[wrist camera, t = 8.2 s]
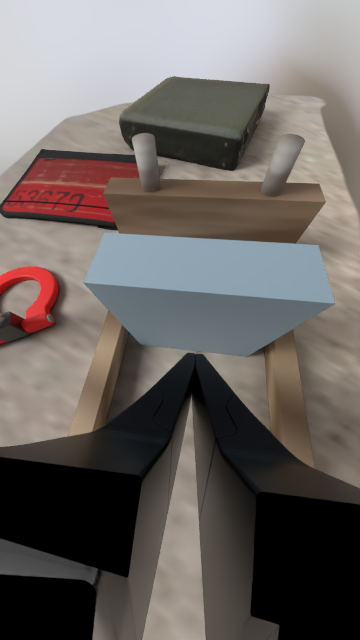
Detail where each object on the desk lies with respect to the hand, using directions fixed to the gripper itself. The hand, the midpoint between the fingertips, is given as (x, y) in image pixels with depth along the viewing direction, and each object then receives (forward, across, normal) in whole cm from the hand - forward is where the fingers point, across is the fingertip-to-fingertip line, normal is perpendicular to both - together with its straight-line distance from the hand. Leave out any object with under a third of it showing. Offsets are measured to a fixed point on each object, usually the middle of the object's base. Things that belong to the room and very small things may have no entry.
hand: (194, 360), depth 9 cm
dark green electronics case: (+37, +3, -27) cm, 46 cm away
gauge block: (+10, 0, -1) cm, 10 cm away
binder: (+23, +20, -14) cm, 33 cm away
